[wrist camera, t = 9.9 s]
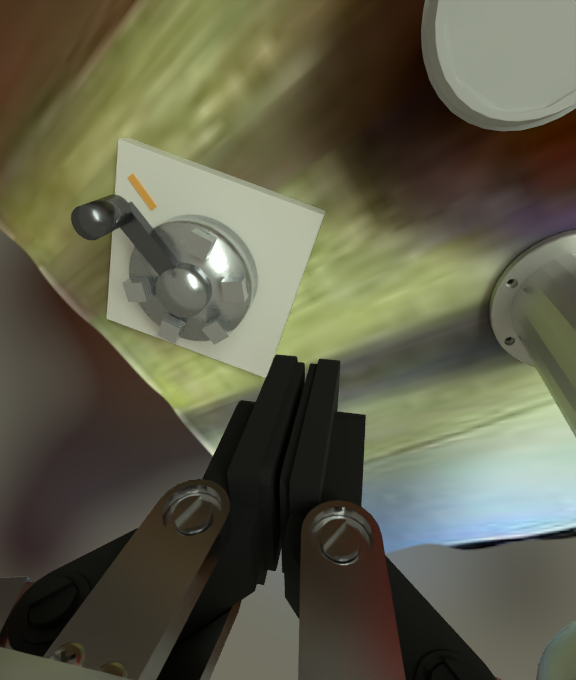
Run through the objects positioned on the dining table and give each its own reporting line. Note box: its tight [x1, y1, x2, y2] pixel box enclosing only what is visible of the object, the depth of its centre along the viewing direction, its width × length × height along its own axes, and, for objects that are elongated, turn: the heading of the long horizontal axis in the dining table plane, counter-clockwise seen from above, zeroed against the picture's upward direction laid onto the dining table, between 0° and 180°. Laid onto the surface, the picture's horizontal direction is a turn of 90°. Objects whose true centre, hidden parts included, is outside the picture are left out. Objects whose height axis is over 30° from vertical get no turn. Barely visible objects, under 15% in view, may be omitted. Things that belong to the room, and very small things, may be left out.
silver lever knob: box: [71, 194, 258, 345], centre depth 34 cm, size 15×11×8 cm
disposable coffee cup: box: [421, 0, 576, 131], centre depth 22 cm, size 10×10×12 cm
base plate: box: [107, 138, 326, 378], centre depth 39 cm, size 18×18×2 cm
